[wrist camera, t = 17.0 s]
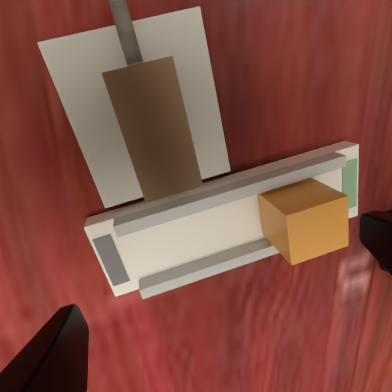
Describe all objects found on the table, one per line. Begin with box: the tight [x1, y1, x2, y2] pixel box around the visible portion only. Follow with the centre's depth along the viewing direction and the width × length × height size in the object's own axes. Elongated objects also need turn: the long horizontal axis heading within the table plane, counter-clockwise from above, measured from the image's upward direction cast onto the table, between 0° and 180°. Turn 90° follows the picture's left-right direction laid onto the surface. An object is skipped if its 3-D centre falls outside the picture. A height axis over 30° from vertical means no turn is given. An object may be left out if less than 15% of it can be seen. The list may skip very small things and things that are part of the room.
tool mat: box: [37, 6, 231, 208], centre depth 17 cm, size 9×10×1 cm
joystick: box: [102, 0, 203, 203], centre depth 14 cm, size 3×9×5 cm, turn 13°
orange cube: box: [257, 178, 348, 266], centre depth 18 cm, size 4×4×4 cm
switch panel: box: [84, 141, 359, 299], centre depth 20 cm, size 20×6×3 cm, turn 103°
